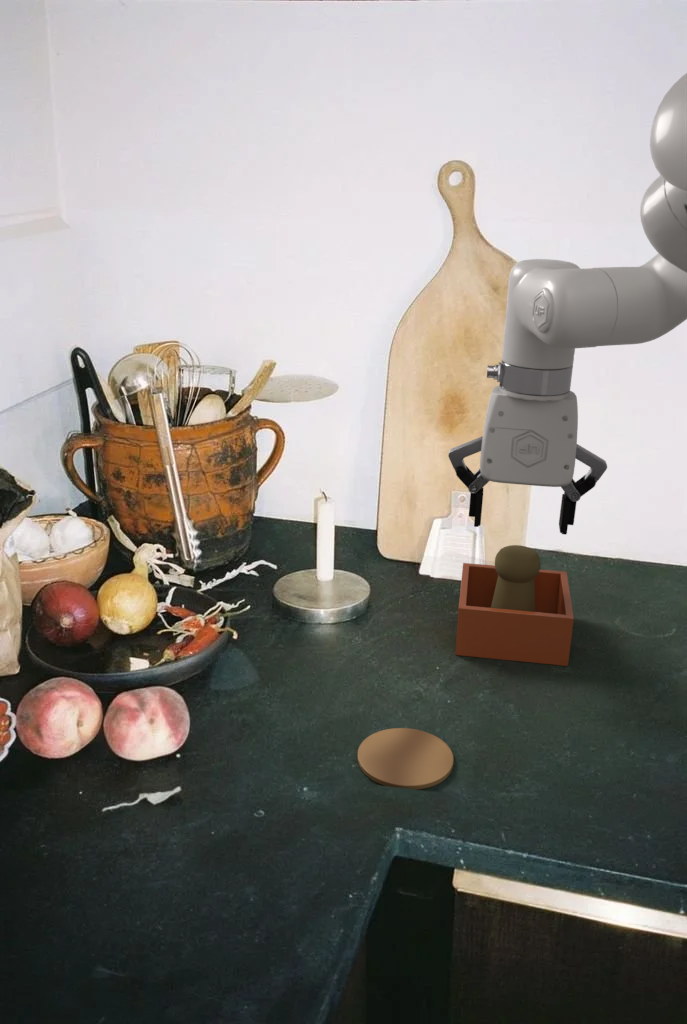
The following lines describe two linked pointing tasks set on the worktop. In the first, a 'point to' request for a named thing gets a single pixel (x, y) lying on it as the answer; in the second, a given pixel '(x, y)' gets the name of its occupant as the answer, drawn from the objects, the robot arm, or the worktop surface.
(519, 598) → the olive brown pawn
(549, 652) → the terracotta open box
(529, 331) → the robot arm
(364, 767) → the coaster
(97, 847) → the worktop surface
